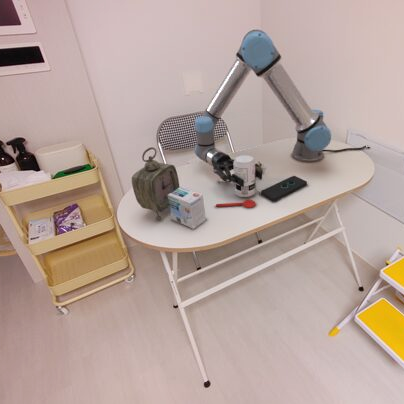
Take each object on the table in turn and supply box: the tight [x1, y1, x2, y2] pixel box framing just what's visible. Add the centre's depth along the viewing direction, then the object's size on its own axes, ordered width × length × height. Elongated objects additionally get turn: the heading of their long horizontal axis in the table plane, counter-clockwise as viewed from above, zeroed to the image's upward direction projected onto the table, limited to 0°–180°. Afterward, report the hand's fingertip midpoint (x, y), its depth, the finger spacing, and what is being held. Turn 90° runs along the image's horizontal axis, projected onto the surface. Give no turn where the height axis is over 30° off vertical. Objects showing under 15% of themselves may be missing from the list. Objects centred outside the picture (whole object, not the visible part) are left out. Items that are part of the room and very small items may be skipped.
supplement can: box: [233, 154, 257, 198], centre depth 118 cm, size 8×8×15 cm
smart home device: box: [260, 175, 308, 203], centre depth 125 cm, size 8×2×20 cm
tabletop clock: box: [131, 146, 180, 221], centre depth 107 cm, size 14×9×25 cm, turn 160°
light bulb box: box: [168, 186, 207, 230], centre depth 106 cm, size 11×7×11 cm, turn 58°
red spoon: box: [215, 199, 256, 209], centre depth 116 cm, size 15×5×1 cm, turn 96°
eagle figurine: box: [255, 161, 267, 179], centre depth 135 cm, size 8×7×9 cm
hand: (252, 179), depth 115 cm, fingers closed on supplement can, 8 cm apart
